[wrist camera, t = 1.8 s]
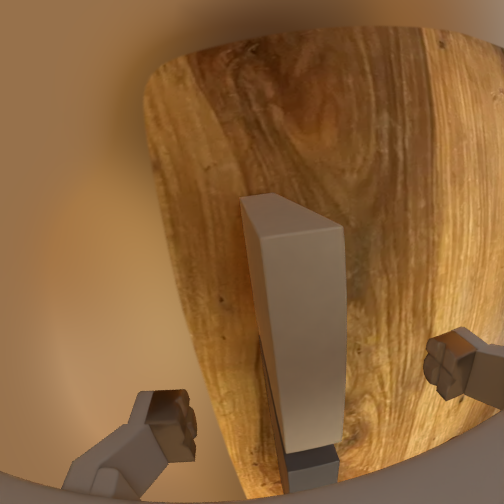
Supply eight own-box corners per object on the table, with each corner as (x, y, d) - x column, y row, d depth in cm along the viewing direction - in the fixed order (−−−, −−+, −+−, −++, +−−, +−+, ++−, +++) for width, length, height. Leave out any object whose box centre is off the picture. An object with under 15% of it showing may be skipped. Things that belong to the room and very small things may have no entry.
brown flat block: (238, 197, 21) (258, 237, 8) (274, 192, 21) (344, 225, 8) (256, 318, 23) (285, 454, 11) (287, 312, 23) (342, 442, 11)
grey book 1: (258, 334, 24) (287, 472, 11) (288, 329, 24) (339, 460, 11) (270, 414, 26) (294, 534, 13) (295, 410, 26) (330, 527, 13)
